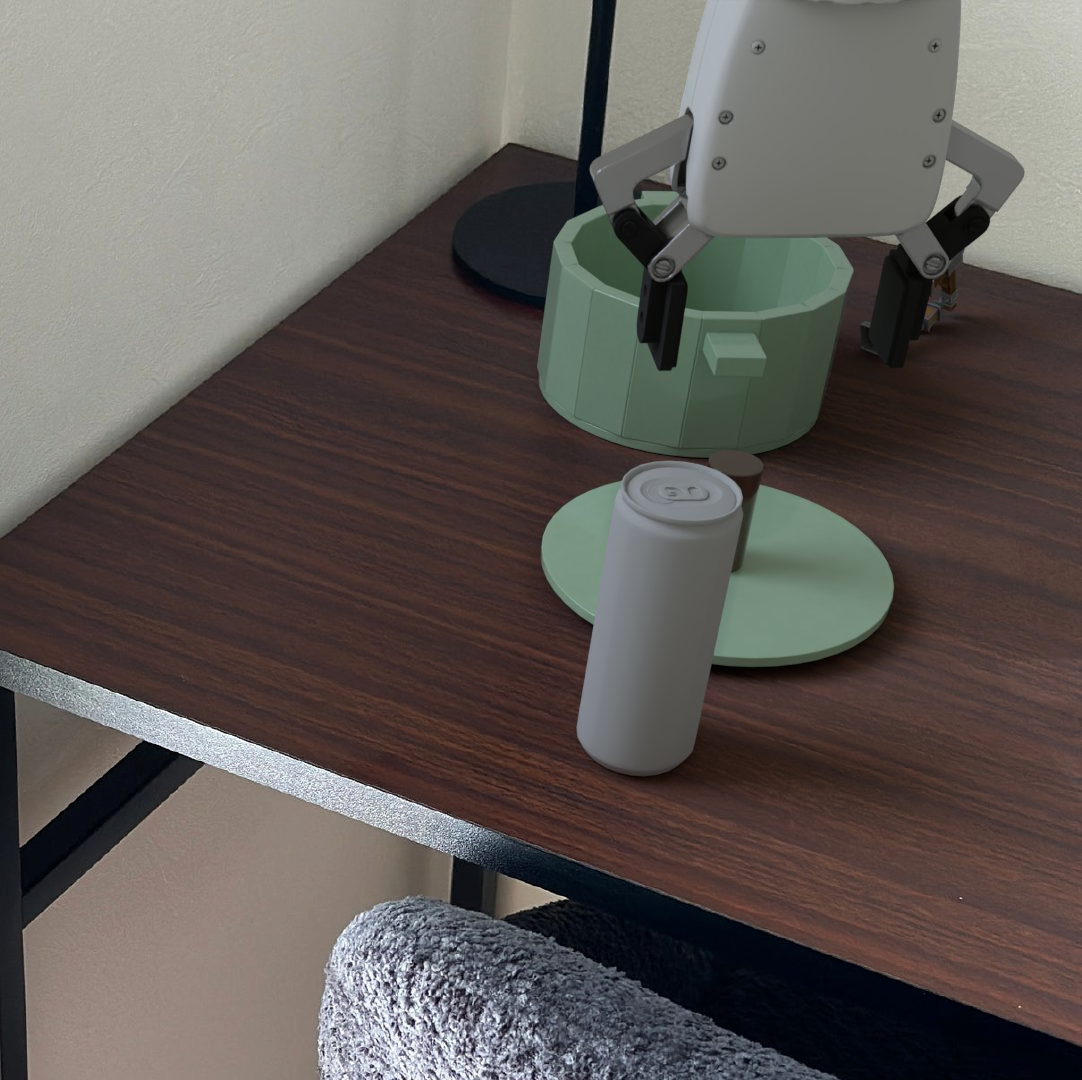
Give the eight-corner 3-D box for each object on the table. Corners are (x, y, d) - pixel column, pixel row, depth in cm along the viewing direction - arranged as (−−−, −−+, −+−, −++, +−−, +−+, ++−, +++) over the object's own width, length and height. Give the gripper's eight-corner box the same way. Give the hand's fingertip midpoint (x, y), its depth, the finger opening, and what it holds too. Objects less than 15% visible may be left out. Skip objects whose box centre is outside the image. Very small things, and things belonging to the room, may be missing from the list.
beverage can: (564, 714, 89) (605, 459, 81) (676, 712, 89) (728, 457, 81) (587, 783, 85) (633, 523, 77) (704, 781, 85) (761, 521, 78)
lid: (839, 496, 103) (867, 382, 100) (931, 680, 91) (967, 558, 87) (517, 492, 103) (532, 377, 99) (566, 677, 91) (585, 554, 87)
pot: (773, 309, 120) (800, 180, 115) (865, 486, 104) (900, 346, 99) (514, 305, 119) (530, 176, 115) (568, 483, 104) (589, 341, 99)
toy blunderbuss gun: (975, 300, 119) (976, 238, 115) (889, 392, 117) (887, 332, 114) (947, 290, 120) (947, 228, 116) (862, 381, 118) (859, 321, 115)
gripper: (1046, -97, 82) (948, 315, 93) (603, -93, 82) (557, 319, 93) (1113, -37, 76) (1001, 394, 87) (636, -33, 76) (584, 399, 87)
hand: (772, 355), depth 90 cm, fingers open, 9 cm apart
